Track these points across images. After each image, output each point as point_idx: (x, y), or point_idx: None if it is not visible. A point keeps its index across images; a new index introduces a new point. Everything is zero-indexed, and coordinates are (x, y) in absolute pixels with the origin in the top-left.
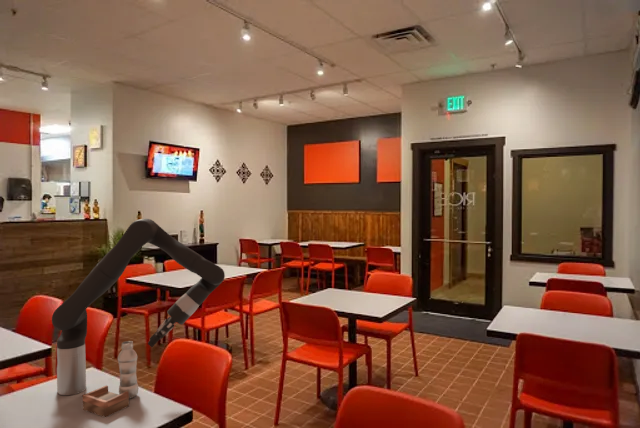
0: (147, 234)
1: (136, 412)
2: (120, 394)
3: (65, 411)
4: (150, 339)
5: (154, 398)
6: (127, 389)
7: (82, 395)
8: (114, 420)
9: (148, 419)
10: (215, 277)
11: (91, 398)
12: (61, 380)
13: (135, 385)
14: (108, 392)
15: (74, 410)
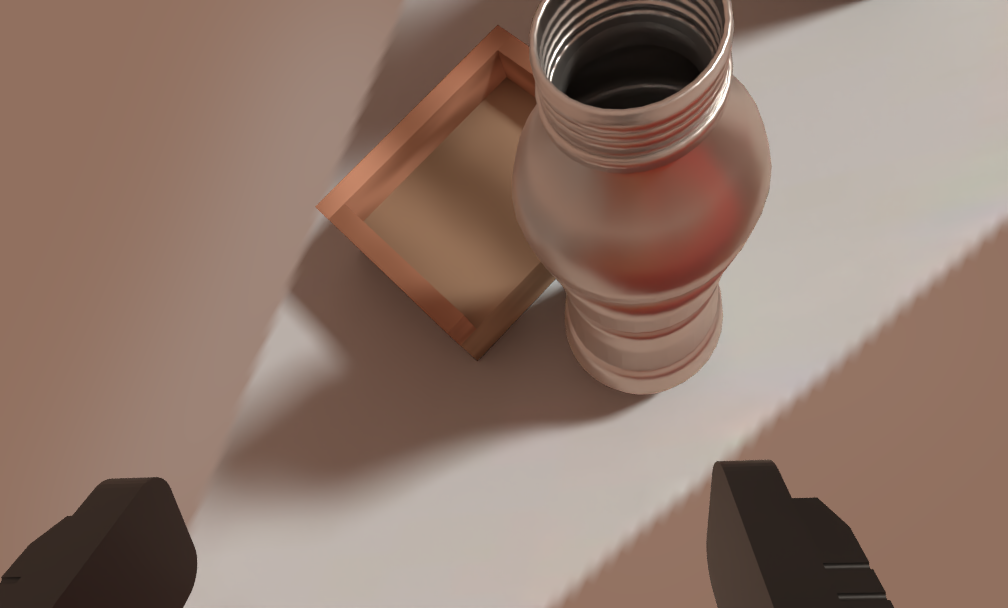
0: None
1: (360, 430)
2: (416, 280)
3: (524, 7)
4: (713, 485)
5: (559, 542)
6: (566, 310)
7: (498, 26)
8: (302, 310)
9: (229, 525)
10: None
11: (426, 99)
12: None
13: (601, 365)
14: None
15: None
